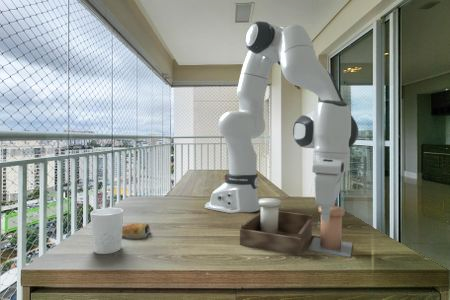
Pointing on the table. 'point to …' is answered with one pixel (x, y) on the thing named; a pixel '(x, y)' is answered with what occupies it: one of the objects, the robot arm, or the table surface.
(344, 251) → the slate tile
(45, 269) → the table surface
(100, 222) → the white cup
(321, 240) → the peach mushroom knob
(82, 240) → the table surface
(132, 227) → the pastry
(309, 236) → the wooden tray
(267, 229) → the white glossy domed part
